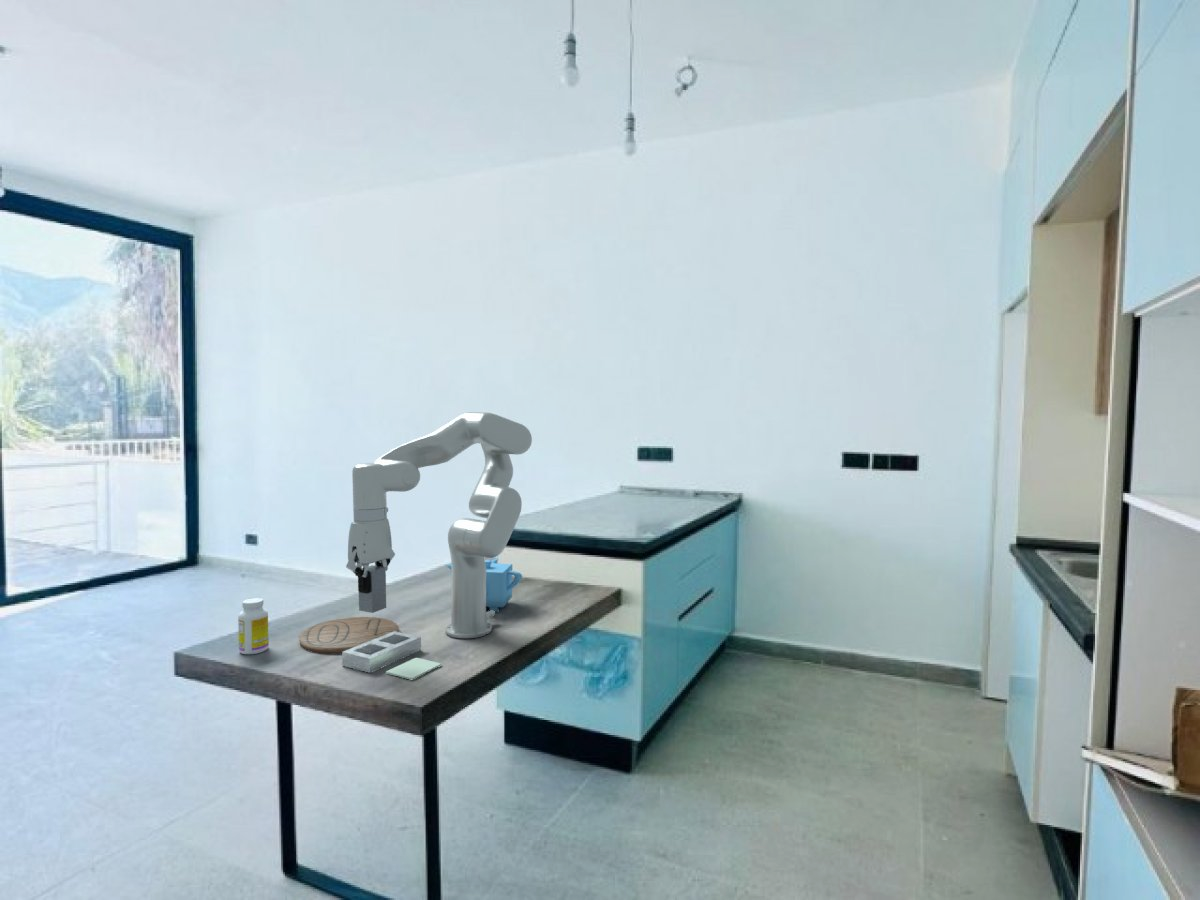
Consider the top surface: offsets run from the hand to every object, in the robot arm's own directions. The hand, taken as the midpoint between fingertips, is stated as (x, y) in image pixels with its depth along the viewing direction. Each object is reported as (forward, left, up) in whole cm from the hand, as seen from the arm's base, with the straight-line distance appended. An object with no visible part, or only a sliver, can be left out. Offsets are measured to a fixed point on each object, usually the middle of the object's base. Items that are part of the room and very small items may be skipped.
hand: (372, 589), depth 156 cm
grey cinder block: (-3, 0, -18) cm, 18 cm away
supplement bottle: (+9, -32, -18) cm, 38 cm away
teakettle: (-50, -5, -18) cm, 54 cm away
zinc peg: (0, 0, -5) cm, 5 cm away
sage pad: (-1, +12, -18) cm, 22 cm away
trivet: (-10, -19, -19) cm, 29 cm away
